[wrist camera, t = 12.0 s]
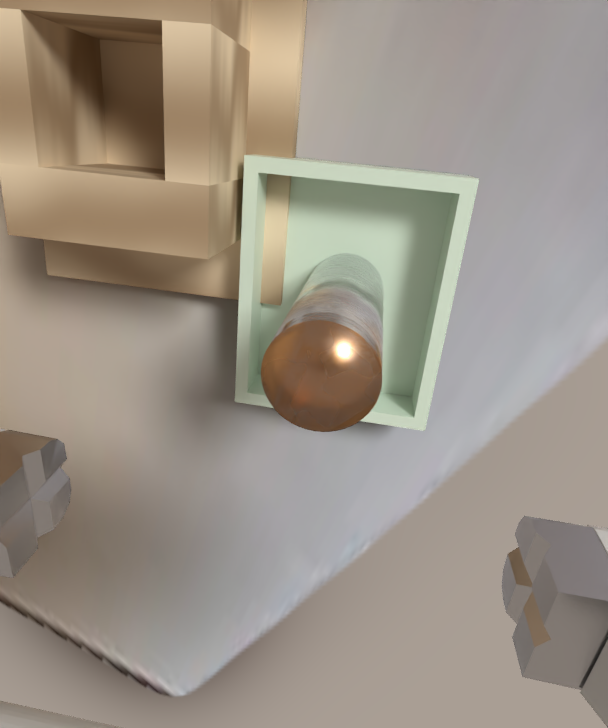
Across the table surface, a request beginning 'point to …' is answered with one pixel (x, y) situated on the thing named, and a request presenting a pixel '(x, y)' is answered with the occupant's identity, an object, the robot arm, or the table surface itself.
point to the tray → (377, 245)
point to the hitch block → (148, 135)
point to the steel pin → (329, 348)
